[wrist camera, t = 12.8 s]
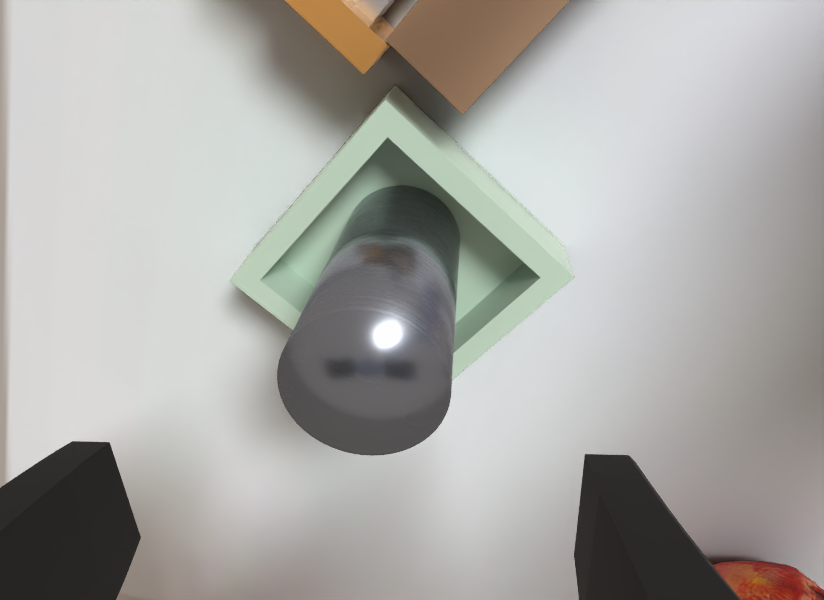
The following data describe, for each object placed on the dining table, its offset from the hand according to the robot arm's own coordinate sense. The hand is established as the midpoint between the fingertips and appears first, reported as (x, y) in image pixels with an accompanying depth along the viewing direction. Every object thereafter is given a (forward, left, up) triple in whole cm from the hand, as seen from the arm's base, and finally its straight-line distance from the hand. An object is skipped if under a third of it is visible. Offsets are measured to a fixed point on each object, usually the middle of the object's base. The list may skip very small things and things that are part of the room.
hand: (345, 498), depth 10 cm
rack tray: (0, 0, -10) cm, 10 cm away
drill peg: (0, 0, -9) cm, 9 cm away
